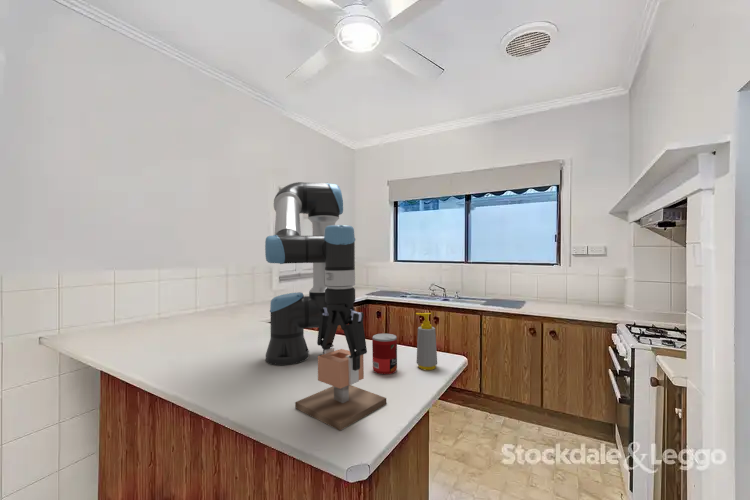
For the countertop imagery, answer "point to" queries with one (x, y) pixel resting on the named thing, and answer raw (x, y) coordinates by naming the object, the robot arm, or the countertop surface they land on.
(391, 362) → the canned food
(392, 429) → the countertop surface
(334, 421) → the base plate
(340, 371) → the orange open box
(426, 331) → the soap bottle
